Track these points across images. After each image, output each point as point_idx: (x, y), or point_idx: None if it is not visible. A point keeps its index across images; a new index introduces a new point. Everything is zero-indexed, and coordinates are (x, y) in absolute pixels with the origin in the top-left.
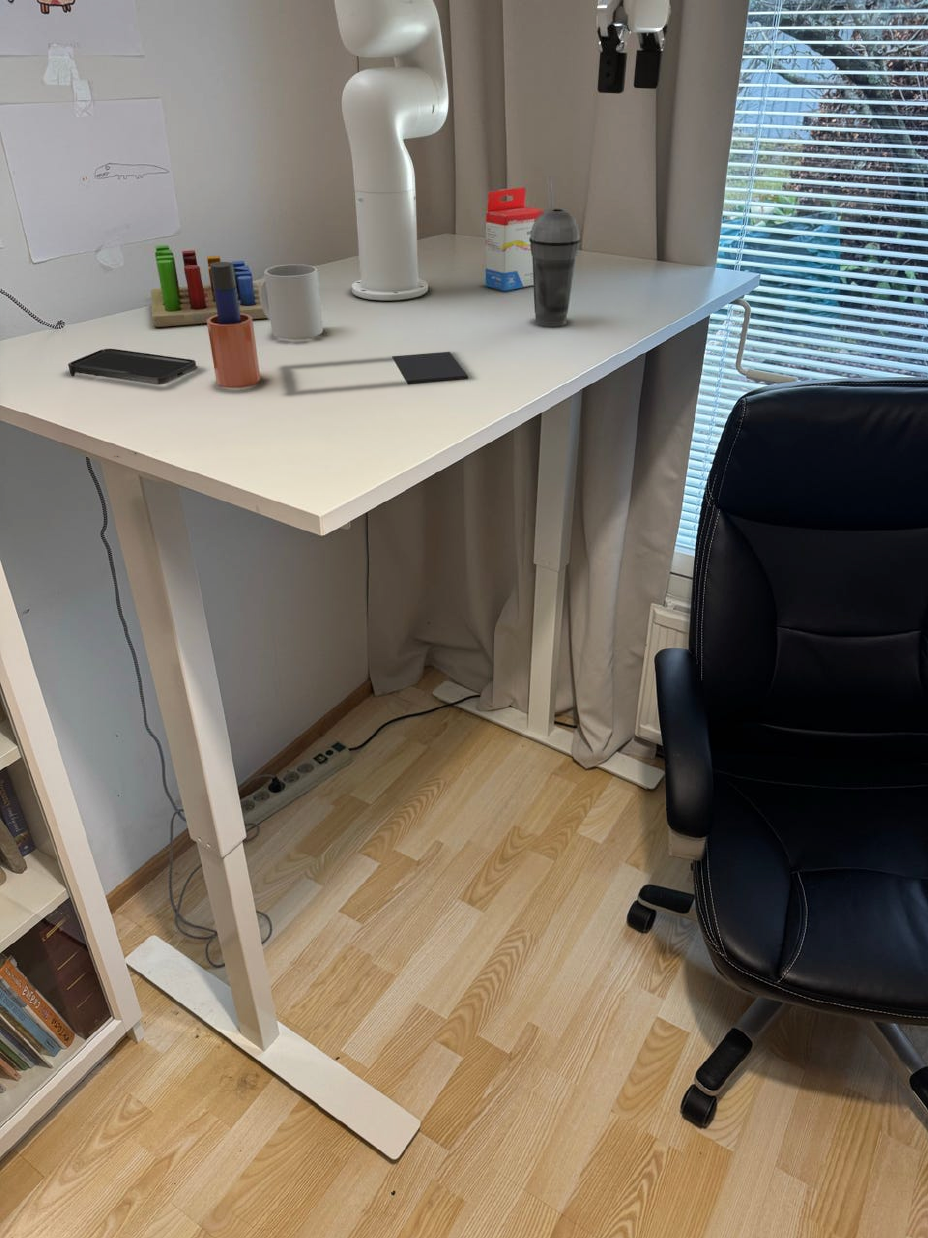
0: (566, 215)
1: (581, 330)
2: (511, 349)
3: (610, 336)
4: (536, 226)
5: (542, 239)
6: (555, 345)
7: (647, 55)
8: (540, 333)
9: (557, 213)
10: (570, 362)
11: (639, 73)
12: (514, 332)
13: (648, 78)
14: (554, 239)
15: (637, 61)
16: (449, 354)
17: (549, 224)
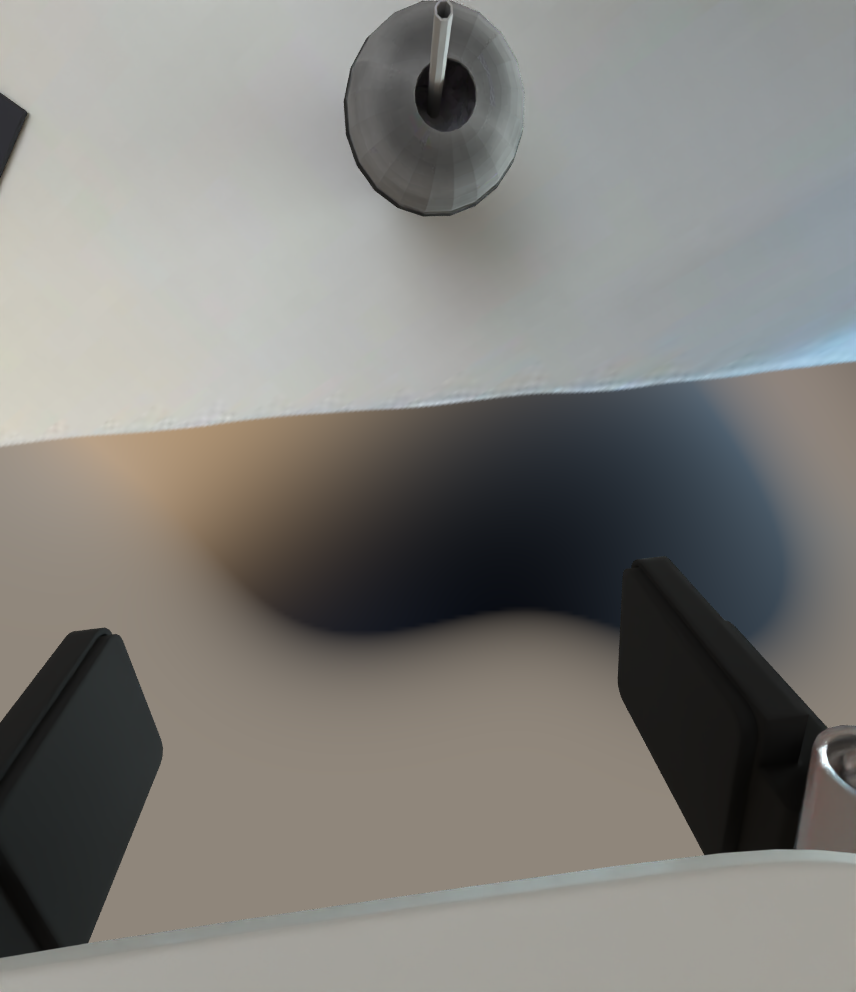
0: (435, 162)
1: (411, 259)
2: (179, 215)
3: (414, 339)
4: (362, 64)
5: (349, 121)
6: (277, 281)
7: (708, 780)
8: (326, 191)
9: (412, 131)
10: (211, 375)
11: (655, 641)
12: (287, 127)
13: (639, 680)
14: (365, 168)
15: (697, 674)
16: (9, 128)
17: (368, 130)
